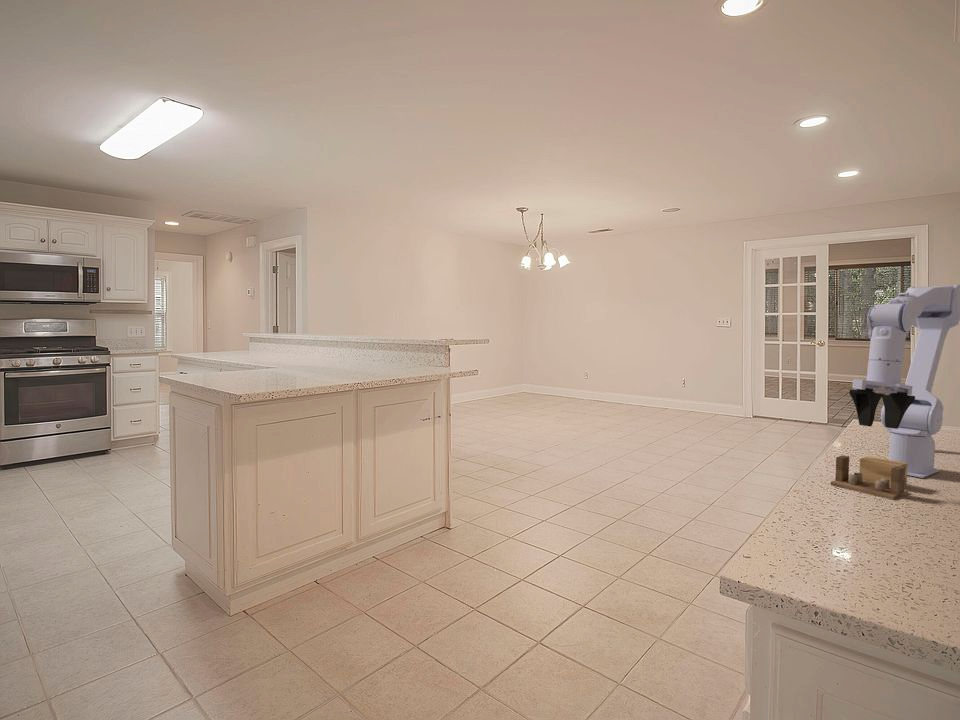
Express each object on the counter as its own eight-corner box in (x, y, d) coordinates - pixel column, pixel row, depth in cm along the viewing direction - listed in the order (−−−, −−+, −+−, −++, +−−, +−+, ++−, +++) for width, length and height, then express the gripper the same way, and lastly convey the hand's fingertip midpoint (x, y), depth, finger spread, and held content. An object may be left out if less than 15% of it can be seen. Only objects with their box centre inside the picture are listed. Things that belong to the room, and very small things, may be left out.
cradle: (846, 479, 114) (847, 453, 114) (908, 493, 105) (909, 465, 104) (830, 484, 110) (831, 458, 110) (893, 499, 101) (894, 471, 101)
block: (867, 478, 115) (868, 455, 115) (906, 486, 109) (907, 463, 109) (859, 481, 113) (860, 458, 112) (898, 490, 107) (899, 466, 106)
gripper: (880, 358, 102) (873, 427, 102) (931, 365, 107) (924, 432, 107) (845, 357, 109) (838, 422, 109) (894, 364, 113) (887, 426, 113)
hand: (878, 426), depth 108 cm, fingers open, 7 cm apart
